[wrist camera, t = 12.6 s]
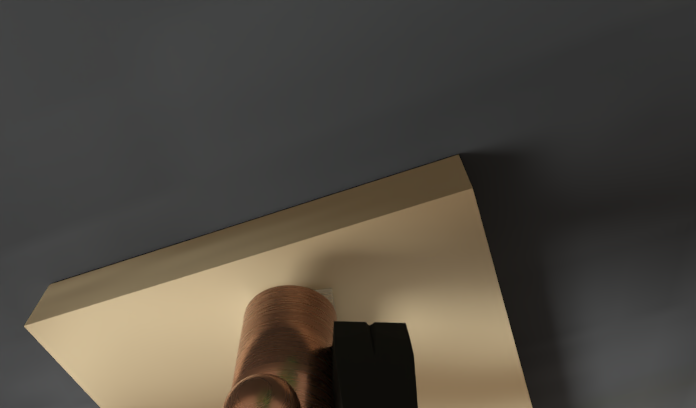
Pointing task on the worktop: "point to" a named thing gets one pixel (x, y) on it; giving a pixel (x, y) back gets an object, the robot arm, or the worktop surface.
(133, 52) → the worktop surface
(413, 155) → the worktop surface
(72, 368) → the crank base
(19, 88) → the worktop surface
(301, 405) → the crank
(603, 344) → the worktop surface
